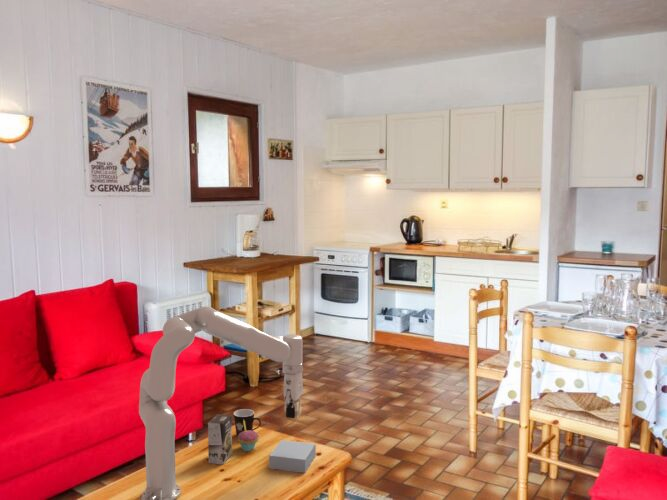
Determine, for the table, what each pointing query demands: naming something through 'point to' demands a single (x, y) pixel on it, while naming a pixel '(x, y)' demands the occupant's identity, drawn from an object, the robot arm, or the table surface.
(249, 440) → the cupcake
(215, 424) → the coffee box
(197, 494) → the table surface
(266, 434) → the table surface
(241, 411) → the coffee mug
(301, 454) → the grey block
